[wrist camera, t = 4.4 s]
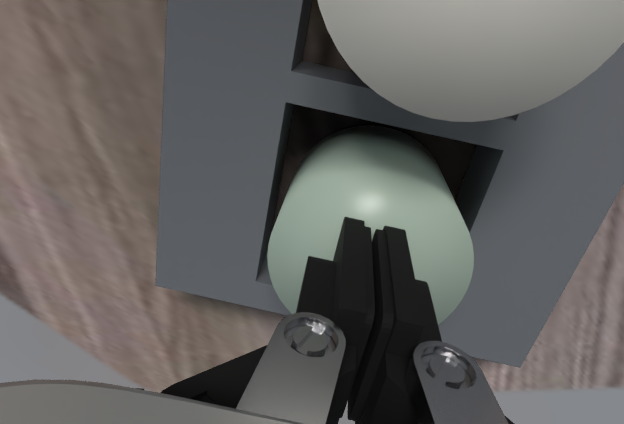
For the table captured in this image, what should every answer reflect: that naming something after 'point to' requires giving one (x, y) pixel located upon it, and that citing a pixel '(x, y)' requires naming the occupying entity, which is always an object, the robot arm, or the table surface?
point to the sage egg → (372, 211)
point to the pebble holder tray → (370, 106)
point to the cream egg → (473, 51)
